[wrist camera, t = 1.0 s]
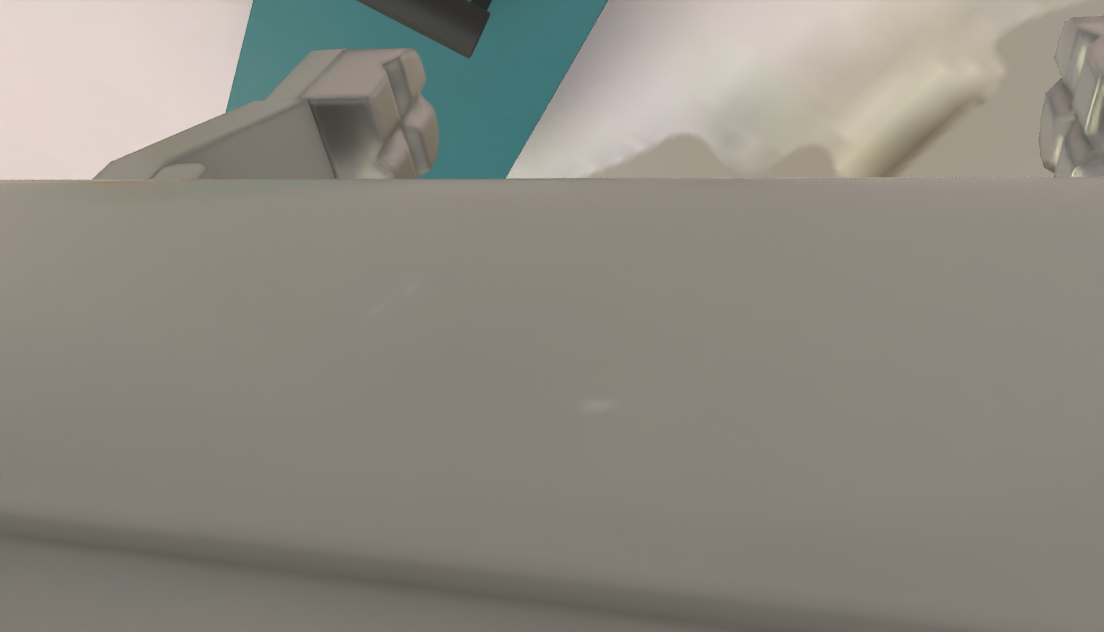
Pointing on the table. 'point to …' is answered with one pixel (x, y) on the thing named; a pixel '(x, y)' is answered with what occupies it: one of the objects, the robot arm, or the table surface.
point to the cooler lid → (435, 62)
